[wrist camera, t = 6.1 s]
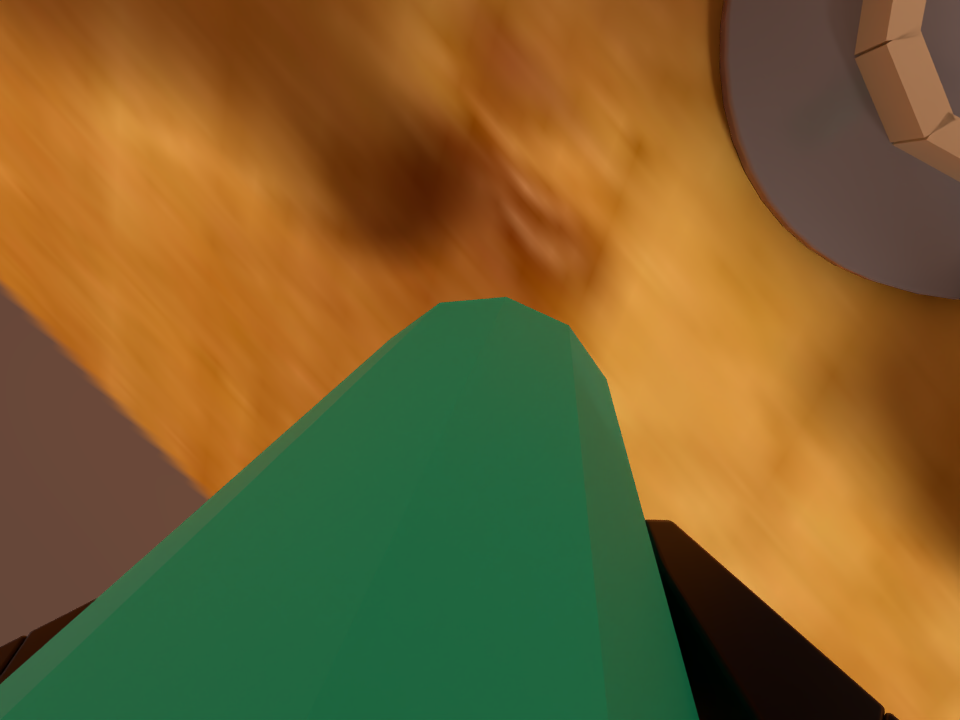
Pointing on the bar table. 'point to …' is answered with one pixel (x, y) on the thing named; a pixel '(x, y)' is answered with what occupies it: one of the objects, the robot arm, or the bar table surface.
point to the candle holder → (853, 129)
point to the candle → (399, 558)
